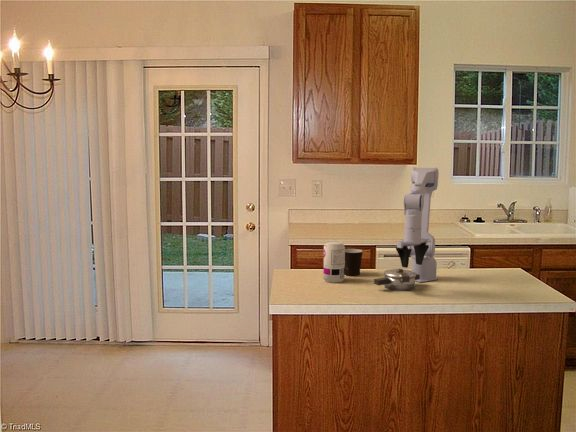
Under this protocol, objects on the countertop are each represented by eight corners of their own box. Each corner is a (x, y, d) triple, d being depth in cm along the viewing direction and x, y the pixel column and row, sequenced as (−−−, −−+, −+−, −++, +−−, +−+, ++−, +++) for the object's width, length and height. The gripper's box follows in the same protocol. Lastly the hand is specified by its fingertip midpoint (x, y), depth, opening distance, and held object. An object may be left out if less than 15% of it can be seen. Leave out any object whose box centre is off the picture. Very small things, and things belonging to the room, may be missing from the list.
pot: (406, 281, 206) (406, 270, 206) (426, 287, 197) (427, 276, 196) (366, 287, 197) (367, 275, 196) (385, 294, 187) (386, 282, 187)
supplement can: (320, 282, 205) (320, 243, 203) (327, 277, 212) (327, 240, 211) (340, 284, 202) (341, 245, 200) (346, 279, 209) (347, 241, 208)
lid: (381, 271, 203) (381, 266, 202) (412, 271, 203) (412, 266, 202) (389, 282, 186) (389, 276, 186) (422, 282, 186) (422, 276, 186)
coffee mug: (361, 277, 212) (362, 253, 211) (340, 276, 214) (340, 252, 213) (363, 271, 223) (363, 247, 222) (342, 270, 225) (343, 247, 224)
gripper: (417, 224, 194) (416, 261, 196) (390, 228, 185) (389, 266, 187) (433, 227, 188) (431, 264, 190) (406, 230, 180) (405, 270, 181)
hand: (411, 265), depth 188 cm, fingers open, 7 cm apart
